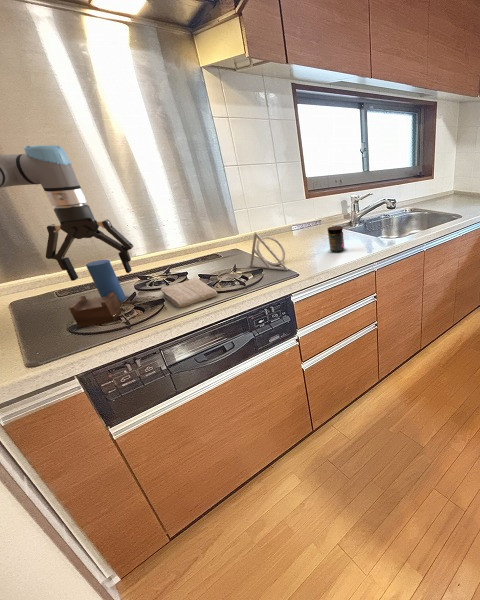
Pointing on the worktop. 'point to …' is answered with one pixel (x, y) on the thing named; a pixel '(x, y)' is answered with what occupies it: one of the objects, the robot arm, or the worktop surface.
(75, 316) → the cradle
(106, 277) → the tube
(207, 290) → the washcloth
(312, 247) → the worktop surface
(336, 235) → the supplement container
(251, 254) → the wire frame
